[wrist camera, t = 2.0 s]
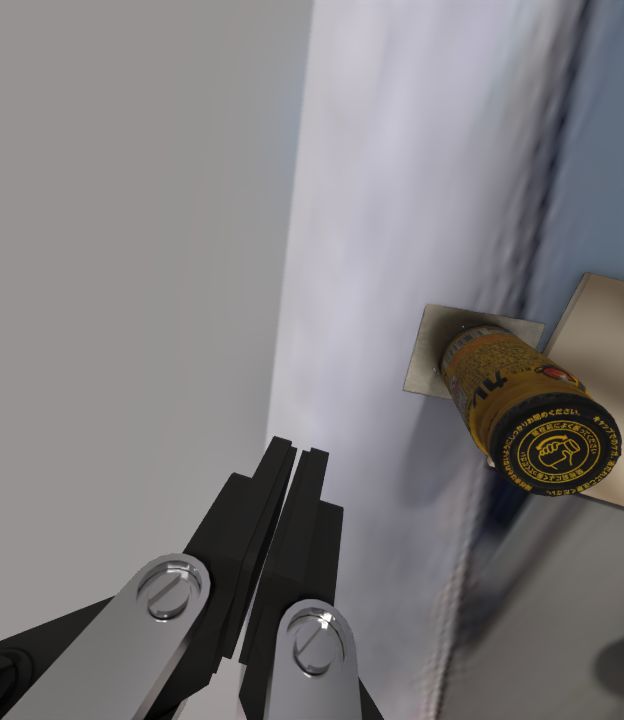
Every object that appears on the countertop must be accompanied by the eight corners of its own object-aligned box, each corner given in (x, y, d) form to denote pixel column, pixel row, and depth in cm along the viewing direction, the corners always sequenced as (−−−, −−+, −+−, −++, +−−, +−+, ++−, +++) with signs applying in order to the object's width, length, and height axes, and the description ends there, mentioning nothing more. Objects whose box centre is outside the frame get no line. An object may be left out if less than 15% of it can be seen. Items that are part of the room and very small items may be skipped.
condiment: (508, 410, 27) (604, 530, 16) (402, 388, 28) (421, 486, 17) (544, 323, 24) (689, 391, 13) (426, 302, 25) (467, 350, 14)
